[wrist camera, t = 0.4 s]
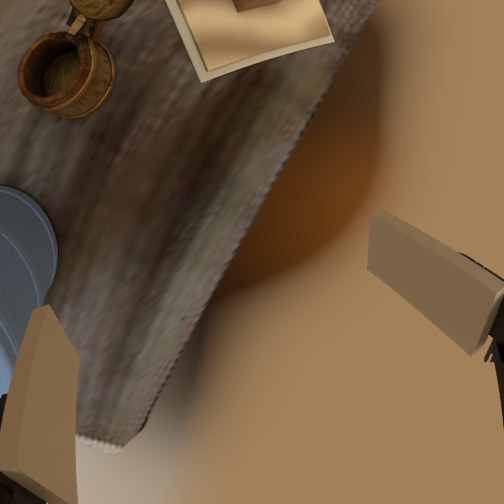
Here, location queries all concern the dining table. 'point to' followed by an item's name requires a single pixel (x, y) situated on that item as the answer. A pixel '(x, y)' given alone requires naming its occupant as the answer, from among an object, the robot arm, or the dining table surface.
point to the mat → (236, 65)
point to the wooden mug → (72, 62)
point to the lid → (249, 26)
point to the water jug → (21, 271)
